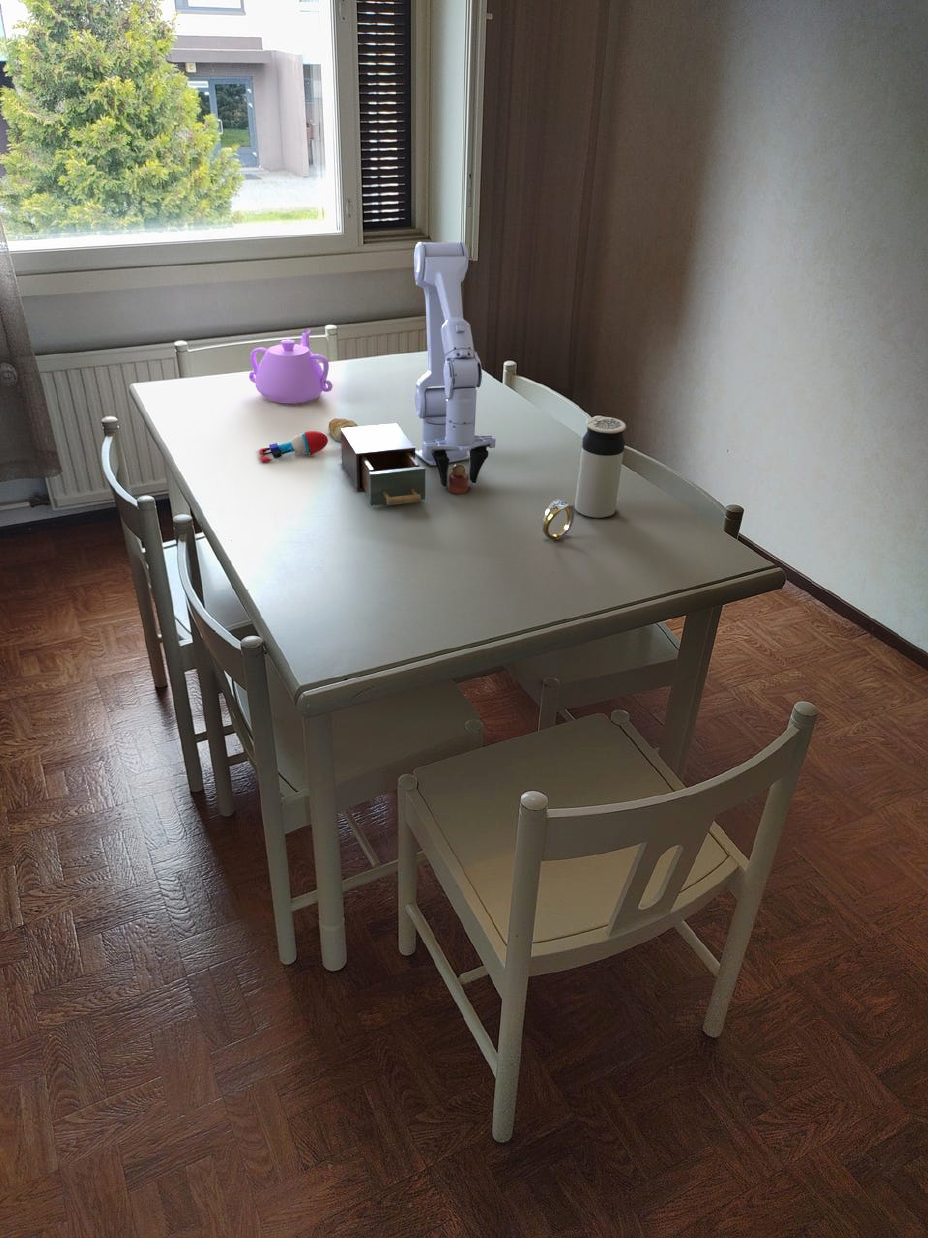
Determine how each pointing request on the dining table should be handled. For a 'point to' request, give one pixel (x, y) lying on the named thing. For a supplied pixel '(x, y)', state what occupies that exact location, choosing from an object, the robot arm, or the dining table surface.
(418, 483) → the drawer
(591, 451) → the travel mug
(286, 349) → the teapot
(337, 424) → the pastry
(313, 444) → the toy figure
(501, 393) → the dining table surface
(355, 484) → the cabinet
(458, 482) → the doll
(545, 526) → the ring
